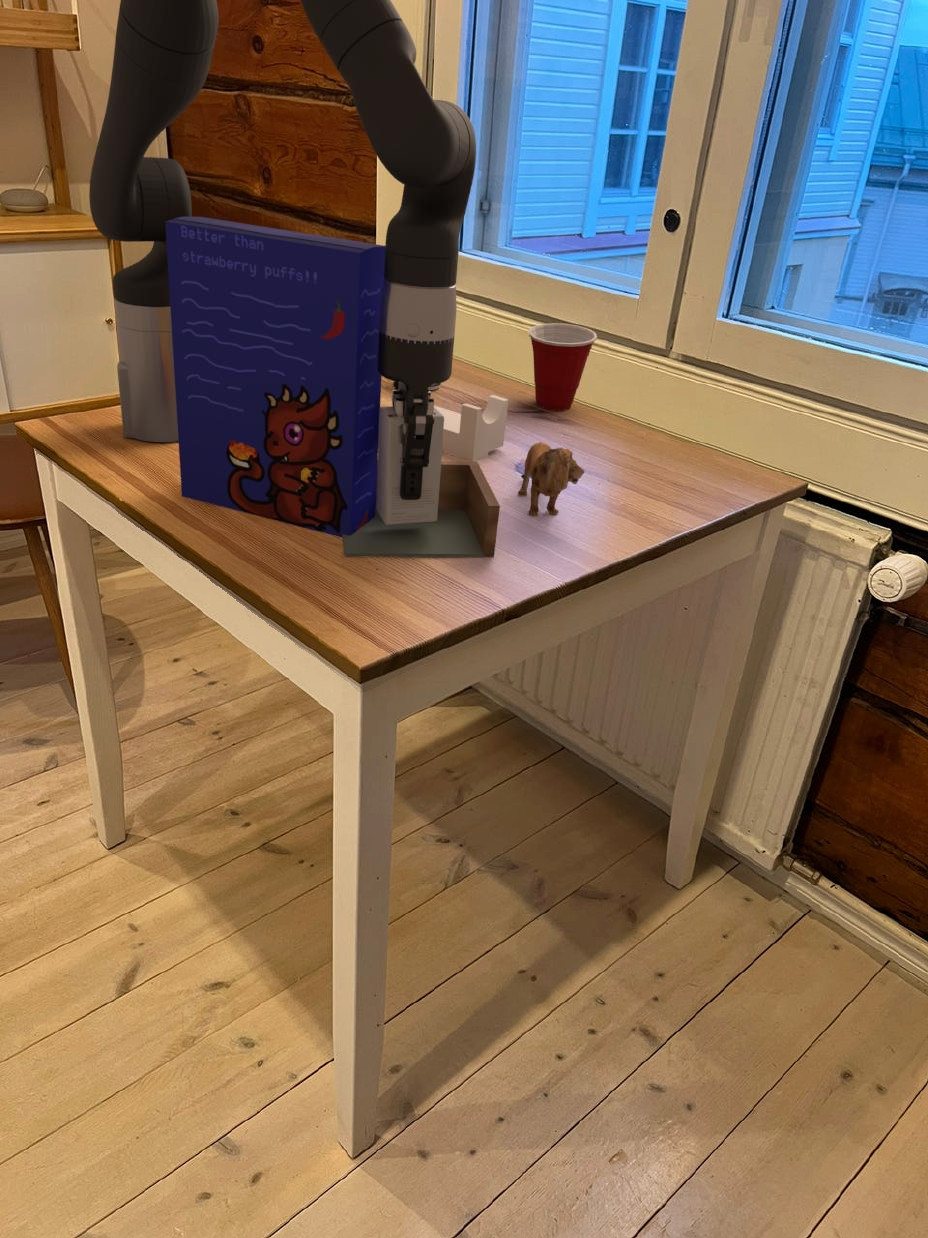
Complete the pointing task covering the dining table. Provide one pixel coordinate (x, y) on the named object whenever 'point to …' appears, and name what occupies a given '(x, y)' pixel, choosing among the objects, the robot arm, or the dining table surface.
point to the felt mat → (415, 538)
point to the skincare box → (390, 473)
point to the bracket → (474, 429)
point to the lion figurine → (548, 474)
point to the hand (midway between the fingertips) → (407, 488)
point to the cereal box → (276, 370)
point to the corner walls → (470, 499)
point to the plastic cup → (559, 362)
